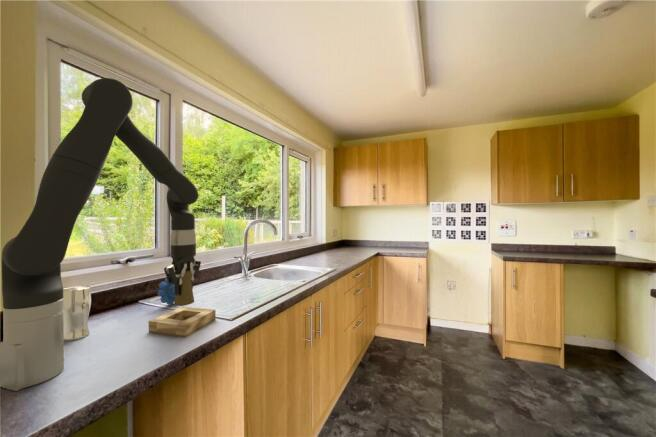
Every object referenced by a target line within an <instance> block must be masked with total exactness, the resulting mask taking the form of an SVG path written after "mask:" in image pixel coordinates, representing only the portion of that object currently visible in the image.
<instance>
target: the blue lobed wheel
mask: <svg viewBox="0 0 656 437" xmlns="http://www.w3.org/2000/svg"><path fill="white" fill-rule="evenodd" d="M158 287H159V288H160V289H159V290H157V295H158V297H160V302H161V303H163V304H165V303H166V304H167V305H168V306H171V305H174V301H175V286H174V284H169V282H168V280H167V277H166V278H164V281H160V283H159V284H158Z"/></svg>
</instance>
